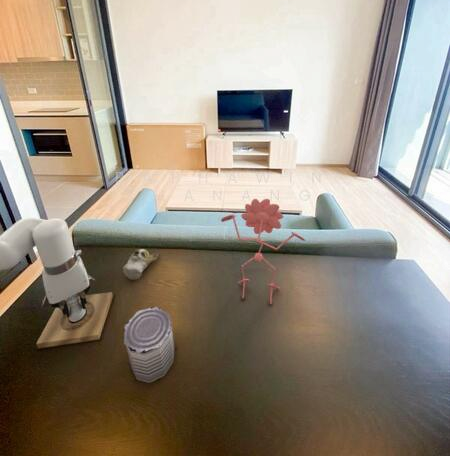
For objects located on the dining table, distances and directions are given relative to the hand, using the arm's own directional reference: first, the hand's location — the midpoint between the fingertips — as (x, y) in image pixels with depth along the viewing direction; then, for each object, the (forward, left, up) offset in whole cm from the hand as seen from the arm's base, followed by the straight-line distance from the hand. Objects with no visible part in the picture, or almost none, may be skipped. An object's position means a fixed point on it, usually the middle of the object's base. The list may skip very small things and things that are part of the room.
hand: (75, 309), depth 73 cm
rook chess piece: (0, 0, -3) cm, 3 cm away
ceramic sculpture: (+15, +18, -5) cm, 24 cm away
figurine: (+58, +4, -5) cm, 58 cm away
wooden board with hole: (0, 0, -5) cm, 5 cm away
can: (+24, -14, -5) cm, 28 cm away
